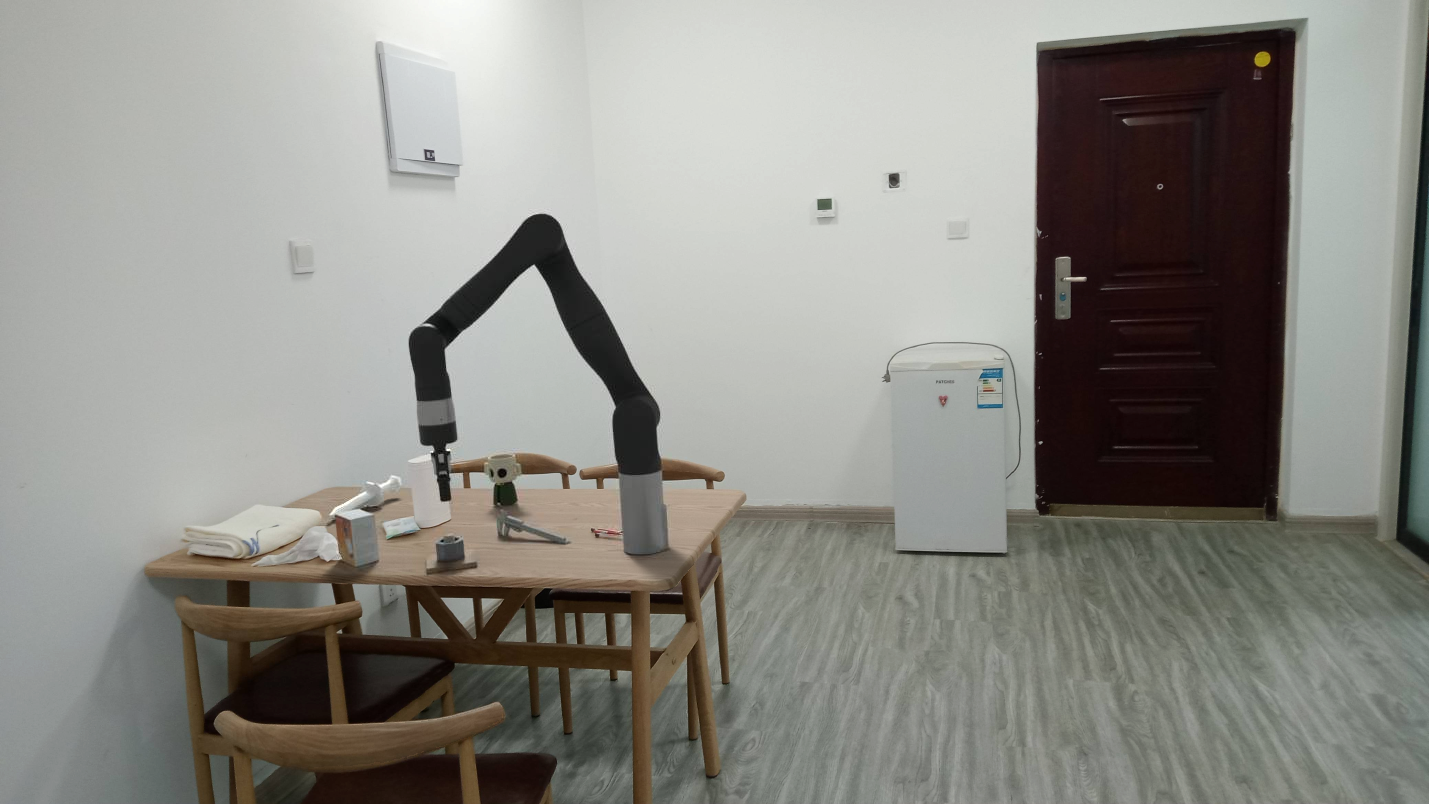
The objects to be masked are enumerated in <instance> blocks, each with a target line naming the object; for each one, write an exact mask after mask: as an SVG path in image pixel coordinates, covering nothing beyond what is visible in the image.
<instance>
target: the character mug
mask: <svg viewBox="0 0 1429 804" xmlns="http://www.w3.org/2000/svg"><path fill="white" fill-rule="evenodd" d="M483 467H484V468H483V469H484V471H483V472H484V475H486V476H488V478H489V481H490V482H492V483H494V485H493V494H492V495H493V499H492V501H493V506H495V507H498V506H499V505H500V507H507V506H512V505H515V504H516V503H517V502H518V494H517V491H516V486H515V484H514V482H513V481H516V480H517V478H518V477H520V476H522V466H521V463H517V459H516V454H514V453H499V454H493V455H490V456H488V457H487V462H484V464H483ZM498 504H499V505H498Z"/></svg>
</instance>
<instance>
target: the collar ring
mask: <svg viewBox="0 0 1429 804" xmlns="http://www.w3.org/2000/svg"><path fill="white" fill-rule="evenodd" d="M454 537H455V542H450V543H444V537H443V536H442V537H440V538H437V539H436V540H435V551H436V553H437V562H443V563H449V562H456V561H459V560H461V559H464V558H465V553H464V550H465V544H464V543H465V542H464V537H463V536H460V535H459V536H458V535H454Z"/></svg>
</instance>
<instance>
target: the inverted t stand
mask: <svg viewBox="0 0 1429 804" xmlns="http://www.w3.org/2000/svg"><path fill="white" fill-rule="evenodd" d="M454 536H455V534H454V533H447V534H444V535H443V536H442V538H443V537H444V543H450V542H455V537H454ZM464 553H465V558H464V559H461V560H459V561H456V562H449V563H443V562H437V552H436V553H429V554H426V562H425V563H426V574H434V573H440V572H439V571H441V572H447V570H448V571H455V570H461V569H468V568H477V567H478V563H477V557H476V553H475V548H469V549H468V548H466V549H464ZM454 569H455V570H454Z"/></svg>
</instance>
